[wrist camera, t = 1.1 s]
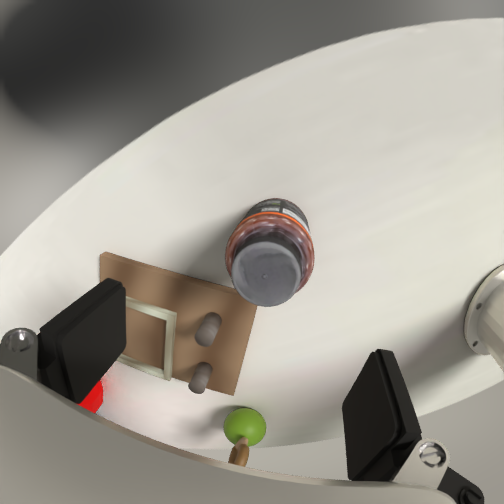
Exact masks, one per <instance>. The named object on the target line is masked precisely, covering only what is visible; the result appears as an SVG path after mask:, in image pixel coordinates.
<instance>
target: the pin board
mask: <svg viewBox="0 0 504 504" xmlns="http://www.w3.org/2000/svg"><path fill="white" fill-rule="evenodd" d="M106 278H111V279H114V280H117V281H120V282H122V284H123V287H125V289H126V339H127V344H126V347H125V350H124V351H123V352H122V354H121V355H120V356H119V357H118V358H117V360H116V361H119V362H121V363H123V364H126V365H128V366H131V367H133V368H136V369H138V370H141V371H143V372H146V373H148V374H151V375H154V376H156V377H159V378H162V379H165V380H168V381H170V380H171V378H172V377H173V378H176V379H179V380H182V381H185V382H188V383H189V385H188V387H189V389H190V390H191V391H192V392H194V393H197V394H201V393H203V392H204V390H205V388H207V389H211V390H214V391H218V392H221V393H225V394H229V395H232V396H233V395H234V392H235V388H236V385H237V381H238V377H239V374H240V370H241V366H242V362H243V359H244V355H245V351H246V347H247V344H248V340H249V336H250V332H251V328H252V325H253V321H254V317H255V313H256V309H257V305H254V304H252V303H250V302H248V301H247V300H245V299H244V298H243V297H242V296H241V295H240V294H239V293H238V292H237V290H236V289H233V288H230V287H226V286H222V285H218V284H215V283H211V282H207V281H204V280H200V279H196V278H193V277H189V276H186V275H182V274H179V273H175V272H172V271H168V270H165V269H161V268H158V267H154V266H151V265H148V264H144V263H141V262H138V261H134V260H131V259H128V258H125V257H121V256H118V255H115V254H112V253H108V252H104V253H103V254H101V255H100V283H101V282H102V281H103V280H105V279H106Z"/></svg>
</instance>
